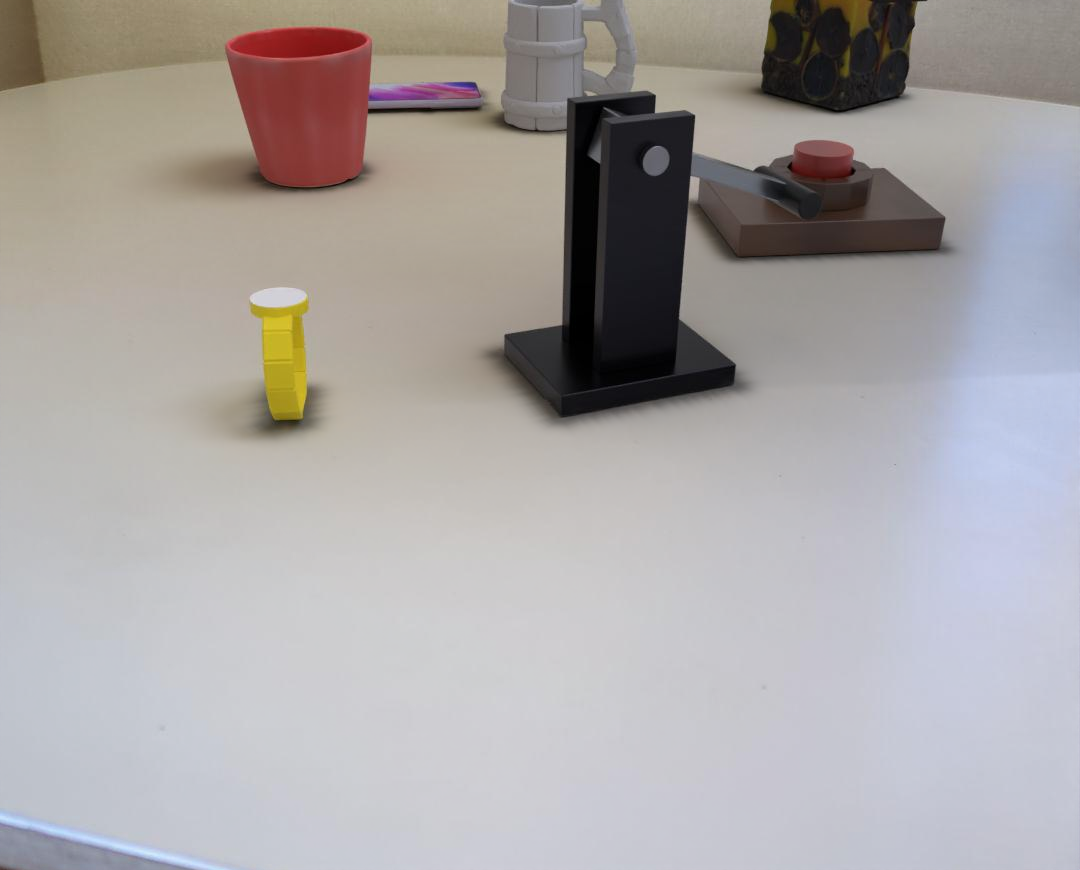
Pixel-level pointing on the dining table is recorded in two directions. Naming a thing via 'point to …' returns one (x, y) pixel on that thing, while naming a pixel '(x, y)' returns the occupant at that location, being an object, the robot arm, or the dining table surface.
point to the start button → (822, 159)
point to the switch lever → (738, 177)
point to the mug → (559, 59)
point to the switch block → (826, 216)
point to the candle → (837, 51)
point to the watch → (283, 349)
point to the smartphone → (425, 95)
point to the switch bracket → (622, 266)
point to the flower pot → (304, 101)
